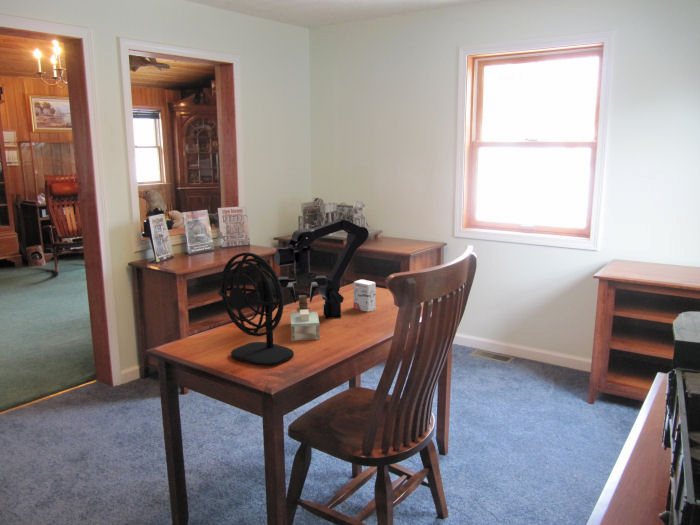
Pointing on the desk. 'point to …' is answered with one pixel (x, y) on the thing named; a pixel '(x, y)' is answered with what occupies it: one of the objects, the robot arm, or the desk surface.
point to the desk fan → (266, 292)
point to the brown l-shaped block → (302, 302)
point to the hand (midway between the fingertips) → (302, 302)
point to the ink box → (364, 295)
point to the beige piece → (305, 331)
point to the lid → (304, 318)
